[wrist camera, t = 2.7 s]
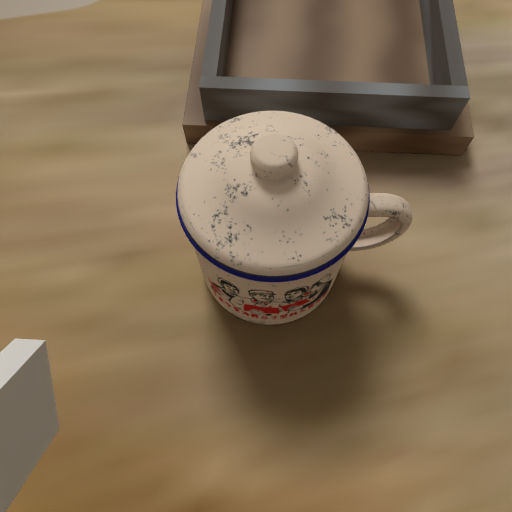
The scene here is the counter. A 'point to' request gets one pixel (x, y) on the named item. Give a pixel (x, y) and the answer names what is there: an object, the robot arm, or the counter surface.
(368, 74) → the collar stand
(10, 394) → the robot arm
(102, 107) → the counter surface
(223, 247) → the teacup with lid
